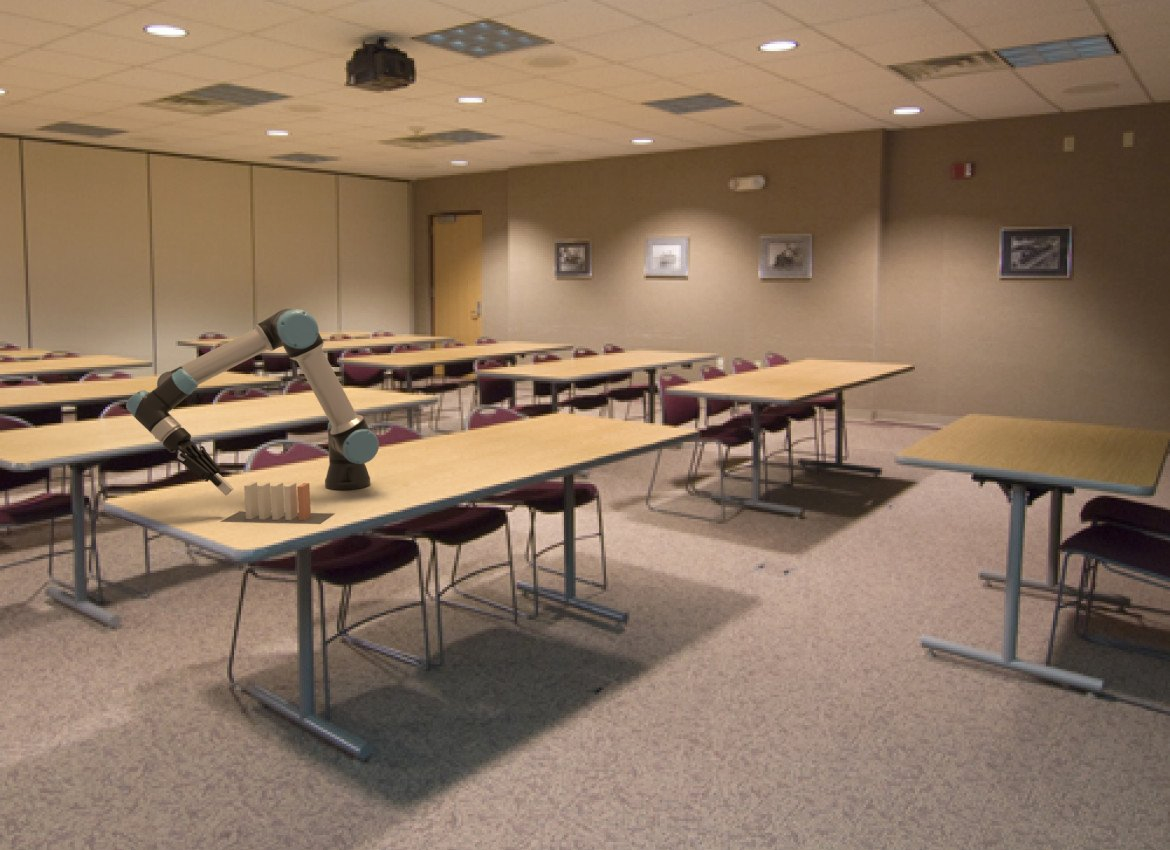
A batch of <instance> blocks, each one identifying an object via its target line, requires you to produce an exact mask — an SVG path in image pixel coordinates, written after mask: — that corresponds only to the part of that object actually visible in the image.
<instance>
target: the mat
mask: <svg viewBox="0 0 1170 850" xmlns="http://www.w3.org/2000/svg"><path fill="white" fill-rule="evenodd" d="M335 515H336V513H335V512H334V513H331V512H329V513H325V512H311V516H310V517H309V518H307V519H306V520H299V512H298V516H297V517H295V518H293V519H292V520H286V516H283V517H281V518H280V519H278V520H272V515H271V516H270V517H268V518H266V519H259V515H258V516H256V517H254V518H252V519H246V511H242V510H241V511H238V512H235V513H234V514H232V515H230V516H228V517H226V518H224V519H222V520H220V521H219V522H220V523H253V524H254V523H256V524H257V523H258V524H259V523H260V524H294V525H296V524H298V525H299V524H302V525H303V524H304V525H305V524H306V525H308V524H309V525H321V524H323V523H324V522H326V521H327V520H329V519H330V518H331V517H333V516H335Z"/></svg>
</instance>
